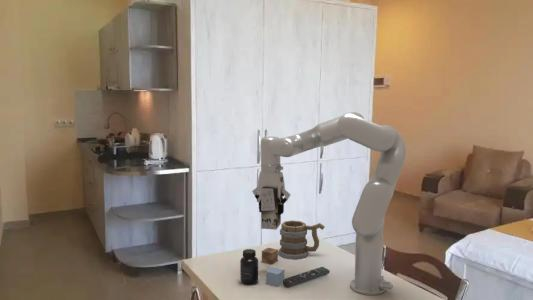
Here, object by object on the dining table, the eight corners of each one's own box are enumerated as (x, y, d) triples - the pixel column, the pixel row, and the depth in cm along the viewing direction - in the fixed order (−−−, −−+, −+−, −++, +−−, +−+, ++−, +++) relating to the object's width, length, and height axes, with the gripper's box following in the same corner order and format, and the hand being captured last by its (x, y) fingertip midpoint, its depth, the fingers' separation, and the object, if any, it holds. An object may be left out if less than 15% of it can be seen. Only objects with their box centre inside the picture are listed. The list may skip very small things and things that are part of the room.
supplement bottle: (262, 281, 166) (262, 250, 164) (249, 287, 161) (249, 255, 159) (249, 276, 170) (249, 246, 169) (236, 281, 165) (236, 251, 164)
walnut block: (277, 260, 187) (277, 249, 186) (271, 264, 183) (272, 253, 182) (267, 258, 190) (267, 247, 189) (261, 262, 185) (261, 250, 185)
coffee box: (277, 229, 167) (276, 188, 165) (260, 229, 169) (260, 187, 167) (281, 223, 176) (281, 183, 174) (265, 222, 177) (265, 183, 176)
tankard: (275, 257, 191) (276, 224, 189) (283, 248, 203) (283, 216, 201) (321, 262, 185) (321, 228, 183) (326, 252, 197) (326, 220, 195)
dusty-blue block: (284, 282, 165) (284, 269, 165) (277, 287, 161) (277, 274, 160) (272, 279, 168) (272, 267, 167) (266, 284, 163) (266, 271, 163)
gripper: (295, 168, 168) (295, 213, 170) (256, 165, 177) (257, 208, 179) (285, 171, 162) (286, 217, 164) (246, 168, 171) (247, 212, 173)
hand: (271, 212), depth 172 cm, fingers closed on coffee box, 7 cm apart
